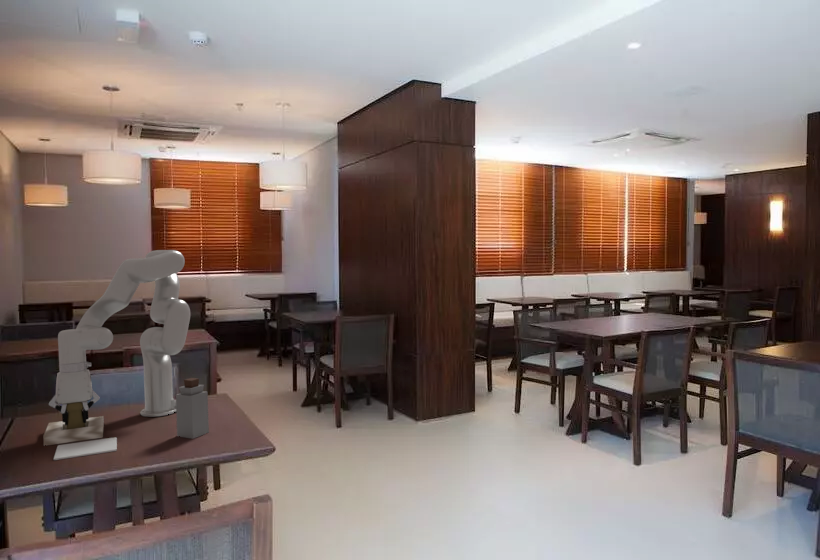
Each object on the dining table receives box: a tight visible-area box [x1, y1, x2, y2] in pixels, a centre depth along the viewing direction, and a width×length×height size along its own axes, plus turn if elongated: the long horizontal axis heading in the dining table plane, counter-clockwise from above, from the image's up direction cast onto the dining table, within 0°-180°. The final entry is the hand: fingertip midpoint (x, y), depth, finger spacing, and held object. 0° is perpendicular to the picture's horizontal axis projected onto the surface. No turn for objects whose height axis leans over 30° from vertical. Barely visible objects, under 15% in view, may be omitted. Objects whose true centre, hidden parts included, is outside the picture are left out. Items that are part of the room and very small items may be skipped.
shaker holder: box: [42, 415, 105, 447], centre depth 187 cm, size 16×16×3 cm
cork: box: [66, 402, 86, 430], centre depth 187 cm, size 6×6×11 cm
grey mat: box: [53, 437, 118, 461], centre depth 172 cm, size 16×13×1 cm
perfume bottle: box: [175, 377, 210, 440], centre depth 185 cm, size 7×7×18 cm
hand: (75, 422), depth 187 cm, fingers closed on cork, 4 cm apart
